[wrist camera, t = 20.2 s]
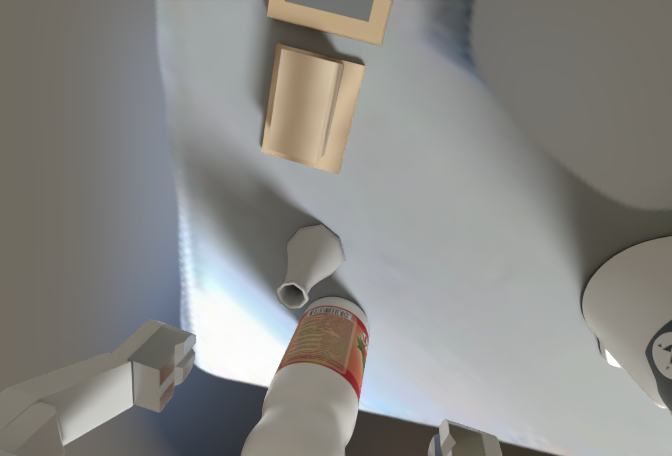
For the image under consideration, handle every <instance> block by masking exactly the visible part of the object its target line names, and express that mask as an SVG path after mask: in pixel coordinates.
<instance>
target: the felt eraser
mask: <svg viewBox="0 0 672 456" xmlns="http://www.w3.org/2000/svg"><path fill="white" fill-rule="evenodd" d="M343 69H344V65H343V64H339V63H335V62H331V61H327V60H324V59H320V58H316V57H312V56H308V55H304V54H300V53H296V52H292V51H289V50H285V49H282V50H281V57H280V64H279V71H278V78H277V85H276V92H275V99H274V106H273V113H272V120H271V127H270V134H269V141H268V148H267V149H269V150H272V151H276V152H279V153H283V154H286V155H290V156H293V157H297V158H300V159H304V160H307V161H311V162H314V163H316V162H317V161H318V160H319V159H320V158H322V157H323V156H324V155H325V151H326V147H327V142H328V138H329V133H330V128H331V124H332V119H333V115H334V110H335V106H336V101H337V96H338V92H339V87H340V83H341V78H342V74H343Z"/></svg>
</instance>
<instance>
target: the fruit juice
mask: <svg viewBox="0 0 672 456" xmlns="http://www.w3.org/2000/svg"><path fill="white" fill-rule="evenodd" d="M369 337H370V327H369V323H368V320H367V317H366V315H365V314H364V312H363V311H362V310H361V309H360V308H359V307H358V306H357V305H356V304H354V303H352V302H351V301H349V300H346V299H343V298H339V297H324V298H321V299H318V300H316V301H314V302H313V303H312V304H310V305H309V306H308V307H307V309H306V310H305V312H304V313H303V315H302V317H301V319H300V322H299V324H298V326H297V328H296V330H295V332H294V335H293V337H292V339H291V341H290V343H289V345H288V347H287V350H286V352H285V354H284V356H283V358H282V360H281V363H280V365H279V367H278V369H277V371H276V373H275V375H274V377H273V379H272V381H271V384H270V386H269V389H268V392H267V394H266V397H265V400H264V404H263V412H262V413H263V414H262V415H263V417H262V419H261V420H260V421H259V423H258V424H257V425H256V426H255V428H254V429H253V430H252V431H251V433H250V434H249V436H248V438H247V440H246V442H245V445H244V447H243V450H242V453H241V456H345V446H346V445H347V443H348V442H349V440H350V438H351V436H352V433H353V429H354V426H355V421H356V417H357V412H358V405H359V398H360V392H361V386H362V380H363V374H364V368H365V362H366V355H367V349H368V343H369Z"/></svg>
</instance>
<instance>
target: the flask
mask: <svg viewBox="0 0 672 456" xmlns="http://www.w3.org/2000/svg"><path fill="white" fill-rule="evenodd" d="M287 256H288V272H287V275H286V279H285V281H284V282H283V283H282V284H281V285H280V286H279V287H278V288H277V289H276V294H277V297H278V299H279V302H281V303H282V304H283V305H284V306H286V307H287V308H288V309H296V308H301V307H302V306H303V305H304V304H305V303H306V302H307V301H308V300H309V297H308V293H309V291H310V289H311V288H312V286H314V285H315V284H317V283H318V282H320V281H321V280H323V279H325V278H326V277H328V276H330V275H331V274H332V273H333V272H334V271H335V270H336V269H337V268H338V267H339V266H340V265H341V264H342V263H343V262H344V261H345V256H344V252H343V248H342V244H341V241H340V239H339V238H338V237H337V236H336V235H334V234H333V233H332V232H331V231H329V230H328V229H327V228H326V227H325V226H323V225H322V224H320V225H314V226H308V227H302V228H299V229H298V231H297V232H296V233H295V234H294V235H293V236H292V238H291V239H290V240H289V241H288V242H287Z"/></svg>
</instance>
